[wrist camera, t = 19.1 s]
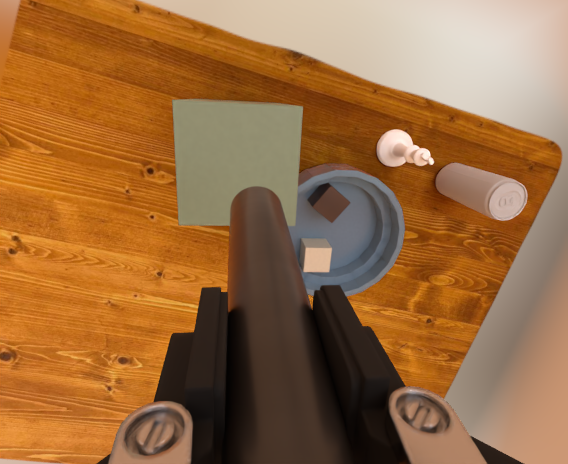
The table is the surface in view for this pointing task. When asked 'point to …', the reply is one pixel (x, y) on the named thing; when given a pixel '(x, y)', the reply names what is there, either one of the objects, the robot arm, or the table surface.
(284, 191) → the stand
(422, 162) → the chess piece
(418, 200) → the table surface
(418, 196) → the table surface
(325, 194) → the walnut block
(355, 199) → the bowl
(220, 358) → the robot arm
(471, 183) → the beverage can
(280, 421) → the stirring stick
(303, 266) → the cream block
